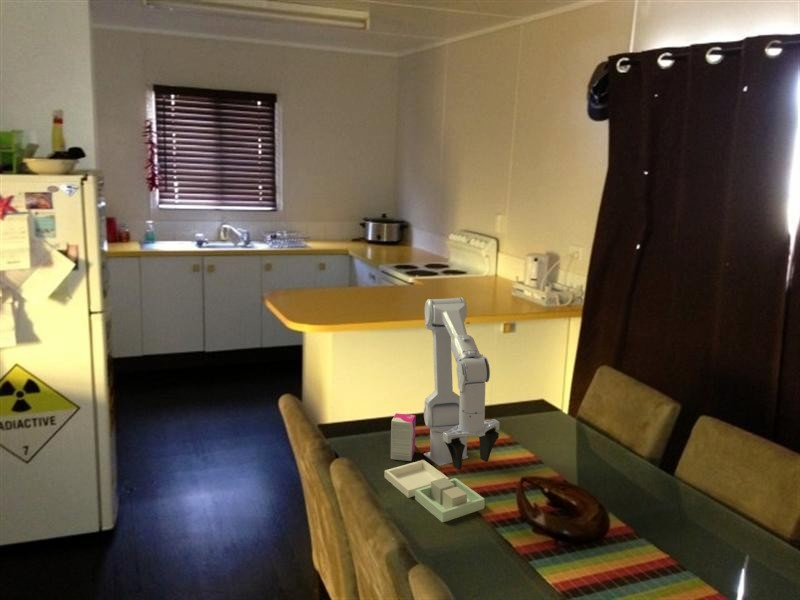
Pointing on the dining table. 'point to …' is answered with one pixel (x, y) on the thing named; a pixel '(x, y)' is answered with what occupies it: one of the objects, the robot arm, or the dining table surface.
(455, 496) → the ivory sharp-edged cube
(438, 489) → the cream cube block
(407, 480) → the tray
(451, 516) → the tub
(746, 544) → the dining table surface
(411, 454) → the supplement box
